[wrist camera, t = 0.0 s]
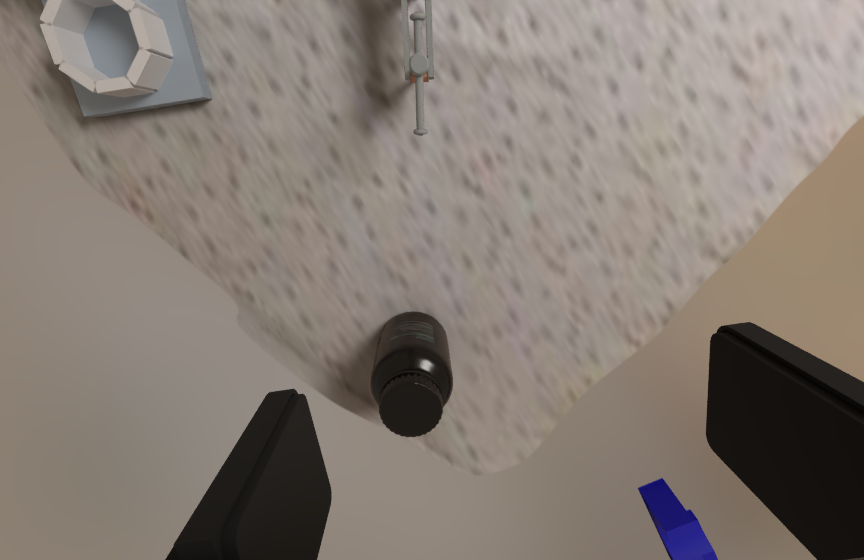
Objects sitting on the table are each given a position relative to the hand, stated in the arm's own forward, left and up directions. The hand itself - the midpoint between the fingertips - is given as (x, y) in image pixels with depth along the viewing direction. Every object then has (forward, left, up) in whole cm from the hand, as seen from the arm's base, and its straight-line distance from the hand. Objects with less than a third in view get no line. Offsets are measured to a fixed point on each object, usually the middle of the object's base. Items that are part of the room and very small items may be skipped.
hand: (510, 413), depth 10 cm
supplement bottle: (+12, -5, -32) cm, 34 cm away
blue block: (+40, +22, -32) cm, 56 cm away
